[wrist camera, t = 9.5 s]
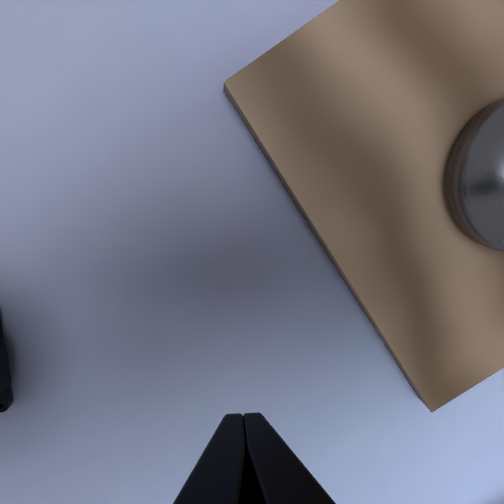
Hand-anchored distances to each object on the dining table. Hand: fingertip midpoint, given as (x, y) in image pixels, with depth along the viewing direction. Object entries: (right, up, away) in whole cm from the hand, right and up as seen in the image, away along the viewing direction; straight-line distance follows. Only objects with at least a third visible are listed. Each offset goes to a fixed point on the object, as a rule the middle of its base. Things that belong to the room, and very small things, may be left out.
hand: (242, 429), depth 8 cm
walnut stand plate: (+12, +9, +11) cm, 19 cm away
